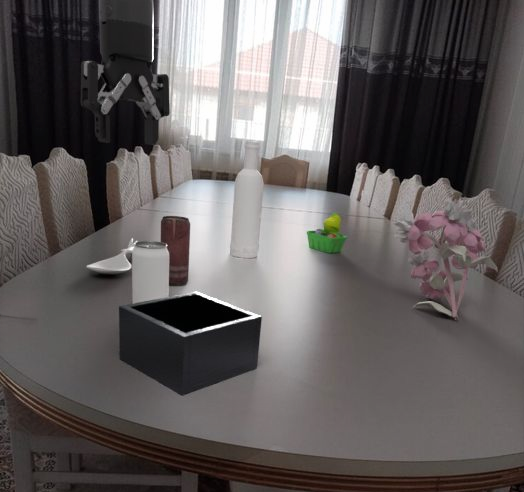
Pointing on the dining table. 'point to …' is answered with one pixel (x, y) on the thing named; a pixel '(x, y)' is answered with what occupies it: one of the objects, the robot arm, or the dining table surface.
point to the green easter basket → (327, 236)
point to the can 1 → (150, 271)
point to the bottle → (247, 205)
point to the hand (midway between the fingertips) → (128, 143)
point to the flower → (443, 251)
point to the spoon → (114, 262)
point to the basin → (189, 340)
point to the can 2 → (177, 247)
